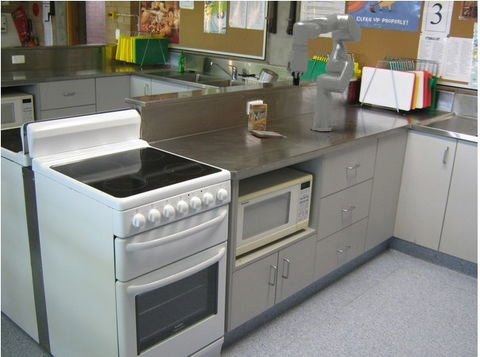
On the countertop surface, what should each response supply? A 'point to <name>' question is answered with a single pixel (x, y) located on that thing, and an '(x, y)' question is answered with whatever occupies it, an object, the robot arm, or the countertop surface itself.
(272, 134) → the walnut board
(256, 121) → the candy box
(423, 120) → the countertop surface
